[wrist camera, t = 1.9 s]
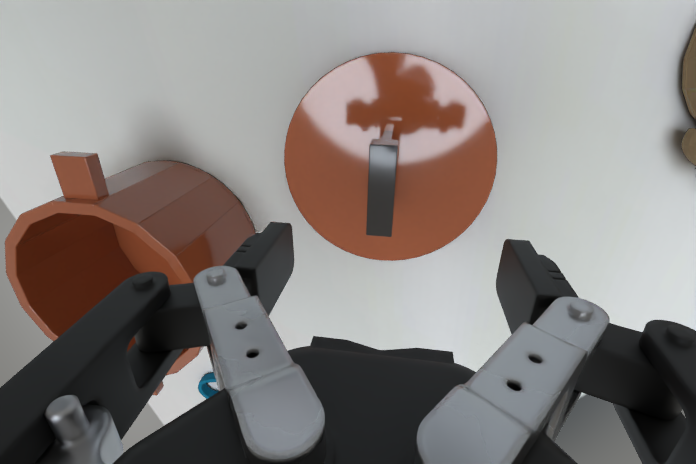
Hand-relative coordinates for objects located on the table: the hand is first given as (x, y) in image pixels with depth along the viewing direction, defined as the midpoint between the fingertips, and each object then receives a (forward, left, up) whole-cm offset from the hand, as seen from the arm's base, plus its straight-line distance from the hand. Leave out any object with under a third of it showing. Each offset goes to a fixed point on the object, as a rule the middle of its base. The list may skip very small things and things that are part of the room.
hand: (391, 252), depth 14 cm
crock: (-14, -16, -16) cm, 27 cm away
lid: (-1, -1, -15) cm, 15 cm away
